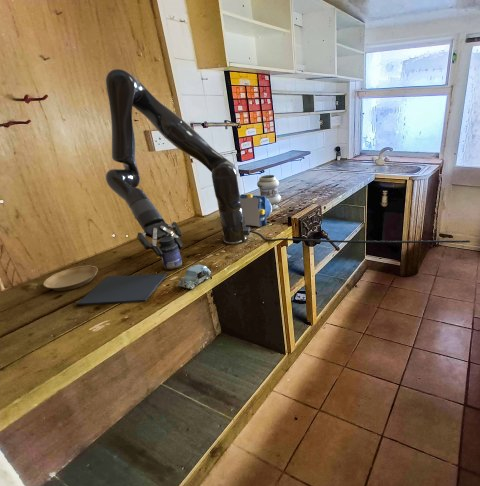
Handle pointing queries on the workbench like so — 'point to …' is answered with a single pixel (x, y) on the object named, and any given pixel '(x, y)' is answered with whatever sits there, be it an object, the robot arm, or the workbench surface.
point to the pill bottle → (170, 253)
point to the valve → (255, 209)
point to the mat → (123, 289)
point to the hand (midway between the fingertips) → (171, 252)
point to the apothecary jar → (269, 189)
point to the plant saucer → (71, 278)
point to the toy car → (194, 276)
